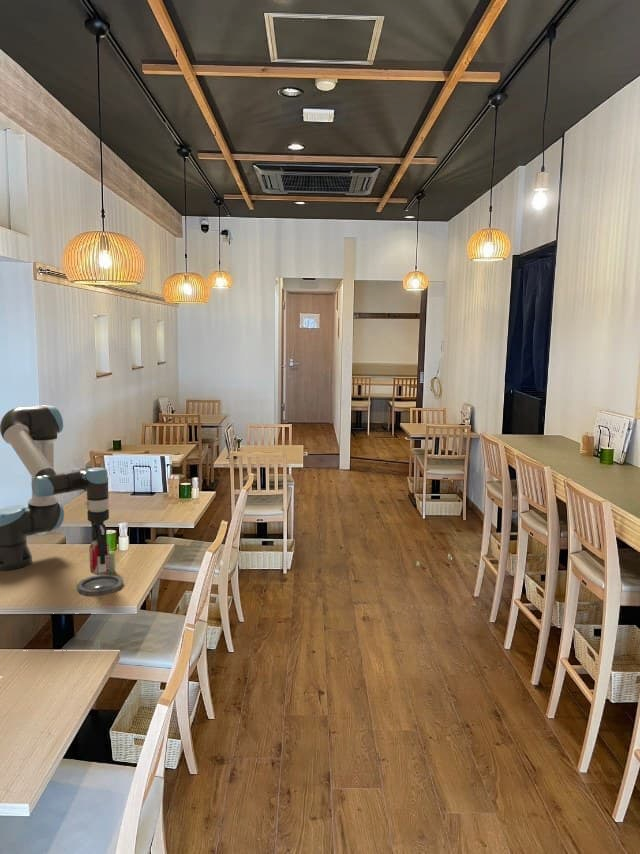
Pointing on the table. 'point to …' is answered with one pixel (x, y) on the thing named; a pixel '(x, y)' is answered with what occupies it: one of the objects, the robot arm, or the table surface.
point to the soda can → (94, 559)
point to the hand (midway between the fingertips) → (100, 568)
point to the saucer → (100, 584)
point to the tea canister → (111, 563)
